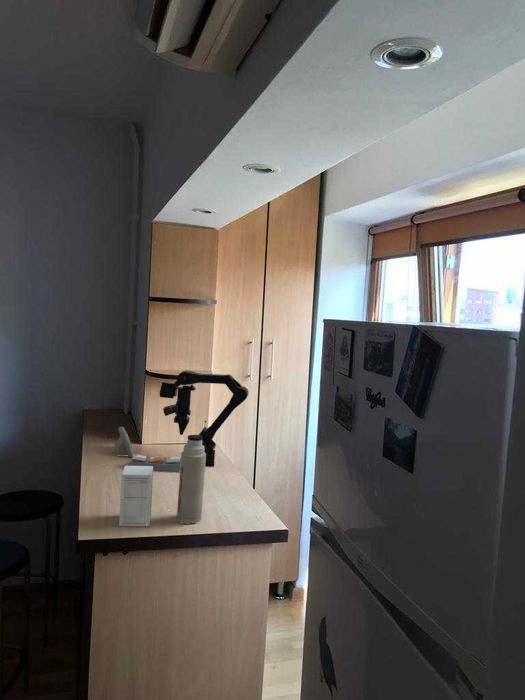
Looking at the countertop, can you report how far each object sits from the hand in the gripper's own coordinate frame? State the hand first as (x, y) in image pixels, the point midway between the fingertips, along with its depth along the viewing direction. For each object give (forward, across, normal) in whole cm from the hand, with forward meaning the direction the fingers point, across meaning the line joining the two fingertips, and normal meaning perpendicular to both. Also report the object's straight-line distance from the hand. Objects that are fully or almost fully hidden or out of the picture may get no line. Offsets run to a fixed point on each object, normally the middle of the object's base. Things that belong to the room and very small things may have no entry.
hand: (181, 434), depth 241 cm
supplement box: (+12, +65, -10) cm, 67 cm away
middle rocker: (+8, +12, -9) cm, 17 cm away
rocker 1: (+8, +12, -16) cm, 21 cm away
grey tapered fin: (+12, -8, -24) cm, 29 cm away
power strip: (+12, +10, -9) cm, 18 cm away
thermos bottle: (+12, +62, +7) cm, 64 cm away
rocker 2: (+8, +12, -2) cm, 14 cm away
